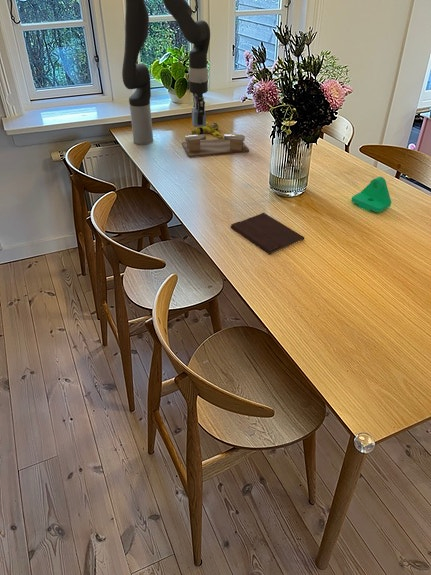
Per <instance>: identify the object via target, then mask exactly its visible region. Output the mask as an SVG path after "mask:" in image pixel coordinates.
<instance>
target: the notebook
mask: <svg viewBox="0 0 431 575" xmlns="http://www.w3.org/2000/svg"><path fill="white" fill-rule="evenodd" d="M230 229H232V230H233V231H234V232H236V233H237V234H239V235H240V236H241V237H243V238H244V239H246V240H248V241H249V242H250V243H252V244H253V245H255V246H257V247H258V248H259V249H260V250H262V251H263V252H265V253H266V254H268V255H269V256H271V255H273V254H276V253H277V252H279V251H281V249H282V250H284V249H286V248H288V247H290V245H291V246H292V244H293V245H294V243H295V244H297V243H299V242H298V241H300V242H302V241H304V240H305V237H304V236H303V235H301V234H300V233H298V232H296V231H295V230H293V229H291V228H289V227H288V226H287V225H284V224H283V223H282V222H281V221H278V220H277V219H275V218H274V217H272V216H270V215H268V214H267V213H265V212H262V213H259V214H256V215H254V216H252V217H249V218H246V219H244V220H240V221H237V222H234V223H232V224H230ZM303 239H304V240H303ZM301 240H302V241H301ZM296 242H297V243H296ZM272 253H273V254H272Z"/></svg>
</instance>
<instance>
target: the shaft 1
mask: <svg viewBox="0 0 431 575" xmlns="http://www.w3.org/2000/svg"><path fill="white" fill-rule="evenodd" d="M190 135H191V136H187V135H185V136H184V138H185V142H187V141H188V138H198V137H199V138H200V141H202V140H207V135H206V134H205V133H202V134H198V135H192V134H190Z"/></svg>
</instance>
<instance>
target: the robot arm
mask: <svg viewBox="0 0 431 575" xmlns="http://www.w3.org/2000/svg"><path fill="white" fill-rule="evenodd" d="M162 3H163V4H164V7H165V8H166V10H167V11H168V13H169V14H170V15H171V16H172V17H173V19H174V20H175V21H176V22H177V25H178V27H179V30H180V32H181V34H182V35H183V37H184V38H185V40H187V42H188V43H190V44H193V47H192V49H191V50H190V51H189V53H188V90H189V92H190V94H192V102H193V103H192V105H193V106H192V107H193V109H194V108H196V110H197V122H198V125H203V115H204V110H205V111H206V108H205V107H206V106H205V104H206V102H205V97H204V96H203V94H206V93H208V90H209V80H208V79H209V74H208V73H209V72H208V52H209V46H210V40H211V29H210V25H209V23H208V22H207V21H205V20H202V19H199V20H194V19H193V17H192V15H193V10H192V7H191V6H190V5H189V3H188V2H187V1H186V0H162ZM124 20H125V21H124V51H123V52H124V53H123V60H122V62H123V63H122V72H121V75H122V82H123V86H124V87H125V88H126V89H128V90H135V91H134V92H133V93H132V94H131V95H130V96H129V98H128V103H129V111H130V121H131V128H132V137H133V143H134V144H136V145H142V146H143V145H149V144H152V143H153V142H154V138H153V137H154V134H153V123H152V122H153V120H152V112H151V111H152V110H151V96H152V93H151V90H152V89H151V75H150V71H149V68H148V67H147V66H146V64H144V63H138V62H137V61H138V57H139V55H140V52H141V51H142V49H143V47H144V45H145V43H146V40H147V38H148V35H149V25H150V24H149V23H150V22H149V20H150V17H149V12H148V9H147V5H146V3H145V1H144V0H125V13H124ZM201 110H202V112H200V111H201Z"/></svg>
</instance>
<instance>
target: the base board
mask: <svg viewBox="0 0 431 575" xmlns="http://www.w3.org/2000/svg"><path fill="white" fill-rule="evenodd" d="M191 135H192V134H187V135H186V136H191ZM194 135H199V134H194ZM231 135H240V134H237V133H232V134H231ZM181 145H182V147H183V150H184V152H185V154H186V156H187V158H188V157H190V158H197V157H196V156H200V157H210V156H209V155H211V156H220V155H230V154H240V153H249V152H250V149H249V147H248V146H247V145H246V144H245V143H244V141H242V138H235V137H231V138H230V140H224V138H215V139H206V140H200V138H199V137H198V138H188V141H187V142H186V141H181Z"/></svg>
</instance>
